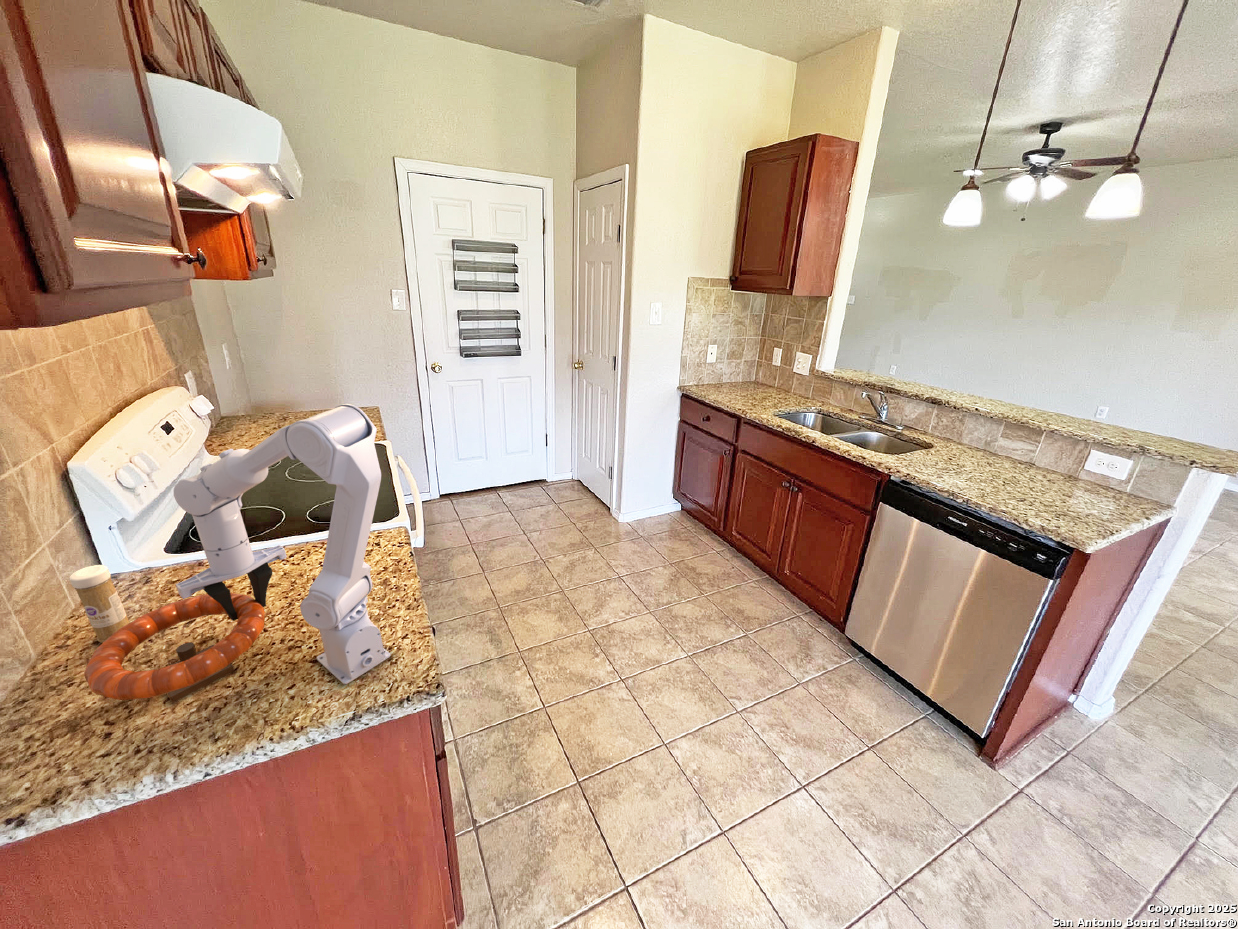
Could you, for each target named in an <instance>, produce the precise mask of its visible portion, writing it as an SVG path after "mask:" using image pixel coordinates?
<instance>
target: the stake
mask: <svg viewBox="0 0 1238 929" xmlns="http://www.w3.org/2000/svg"><path fill="white" fill-rule="evenodd" d="M214 645H215V644H211V645H210V646H208V647H205V648H204V649H201V650H199V651H197V649H196V645H195V643H194V642H193V641H191V642H189V641H188V642H185V643H183V644H180V645H179V646H177V647H176V649H175V652H176V654H177V657H178V659H179V660H178V661H176V662H174V663H172V664H171V665H173V664H176V663H180V662H183V661H186V660H188V659H190V658H192V657H194V656H196V655H198V654H200V653H202V652H204V651H206V650H208V649H210V648H211V647H213V646H214ZM234 672H235V668H234V666H233V664H232V663H230V664H229V665H228V666H227V667H225V668H223V669H222V670H220V671H218V672H216V673H214V674H212V675H210V676H208V677H206V678H204V679H203V680H201V681H199V682H197V683H195V684H193V685H190V686H187V687H184V688H181V689H178V690H175V691H172V692H169V693H166V694H165V695H166V696H167V698H168V699H169V700H170V702H171V703H173V704H174V703H175V702H177V701H180V700H181V699H183V698H186V697H187V696H190V695H191V694H194V693H195V692H197V691H199V690H201V689H202V688H204V687H206V686H208V685H210V684H212V683H214V682H216V681H219V679H221V678H224V677H225V676H227V675H229V674H231V673H234Z"/></svg>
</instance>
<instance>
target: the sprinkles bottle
mask: <svg viewBox="0 0 1238 929" xmlns="http://www.w3.org/2000/svg"><path fill="white" fill-rule="evenodd" d="M68 580H69V582H70V584H71V586H72V588H74V590H75V591H76V593H77V595H78V598H79V600H80V602H81V604H82V606H83V608H84V611H85V615H86V617H87V619H88V622H89V624H90V626H91V627H92V629H93V631H94V633H95V635H96V641H98V642H99V643H101V644H102V643H104V642H105V641H106V640H107V639H108V638H109V637H110V636H111V635H112V634H114V633H115V632H116V631H117V630H119V629H120V628H122V627H124V626H125V625H127V624H129V623H130V620H129V618H128V616H127V612H126V610H125V608H124V605H123V603H122V601H121V598H120V596H119V593H118V591H117V589H116V587H115V585H114V582H113V581H112V575H111V572H110V570H109V567H108V566H107V565H104V564H95V565H89V566H86V567H83V568H80V569H78V570H76V571H74V572H72V573H71V574H70V575H69V577H68Z"/></svg>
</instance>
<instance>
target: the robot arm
mask: <svg viewBox="0 0 1238 929" xmlns="http://www.w3.org/2000/svg"><path fill="white" fill-rule="evenodd" d="M377 431H378V429H377V427H376V426H375V424H374V422H372V421H371V419H370V418H369V416H368V415H367V414H366V412H365V411H364V410H362V409H361V408H360V407H358V406H357V405H354V404H352V403H351V404H350V403H343V404H339V405H337V406H335V407H334V408H332V409H329V410H326V411H323V412H321V413H318V414H315V415H312V416H310V417H307V418H304V419H300V420H295V421H294V422H293V423H291V424H289V425H286V426H283V427H281V428H279V429H278V430H276V431H275V432H274V433H272V434H271V435H269V436H268V437H267V438H265V439H264V440H262V441H261V442H260V443H258V444H257V445H256V446H254V447H253V448H252V449H248V448H237V449H234V448H229V449H226V450H224V451H222V452H220V453H218V457H219V458H220V459H218V460H217V461H215V462H213V463H207V464H204V465H202V466H201V467H200V472H199V473H198V474H195V475H193V476H191V477H188V478H182V479H179V480H178V482H177V483H176V484H175V486H174V487H173V496H174V500H175V501H176V502H175V503H177V505H178V506H179V507H180V508H181V509H182V510H183V511H185V513H187V514H190V515H191V517H192V519H193V522H194V525H195V528H196V531H197V533H198V537H199V539H200V543H201V546H202V549H203V551H204V554H205V557H206V561H207V563H208V566H209V567H208V568H206V569H204V570H202V571H200V572H198V573H196V574H194V575H192V576H191V577H189V578H187V579H185V580H183V581H180V582H177V583H175V587H176V590H177V593H178V595H179V596H180V598H181V599H182V600H184V599H188V598H191V597H192V595H193V594H195V593H197V592H199V591H204V592H205V594H208V595H209V596H210V597H212V598H213V599H214V600H216V601H217V602H218V603H220V604H221V605H222V607H223V608H224V609H225V611H226V613H227V614H228V615H227V616H228V618H229V619H230V620H231V621H233V622H235V621H238V618H237V613H236V611H235V609H234V606H233V604H232V600H231V594H230V592H231V590H230V589H229V588H228V587H227V586H226V584H225V581H230V580H233V579H237V578H239V577H240V578H241V577H243V576H245V575H247V577H248V580H249V582H250V585H251V589H252V593H253V598H254V599H255V600H256V601H257V602H258V603H259V604H260V605H262V606H263V608H265V607H267V591H268V588H269V584H270V581H271V578H272V577H273V569H272V567H271V566H269V564H270V563H273V562H276V561H278V560H279V561H282V560H285V559H287V558H288V556H287V552H286V549H285V548H284V547H283V546H282V545H281V544H279V545H275V546H272V547H269V548H265V549H261V550H257V551H253V549H252V546H251V543H250V540H249V537H248V532H247V530H246V525H245V523H244V519H243V516H242V513H241V509H242V507H243V502H242V496H243V495H244V493H246V492H248V491H249V490H250V489H252V488H255V487H256V486H258V485H259V484H261V483H262V482H264V481H265V480H266V479H267V477H268V475H269V467H272V466H273V465H275V464H277V463H279V462H280V461H282V460H283V459H285V458H287V457H289V458H290V460H293V461H295V460H298V461H299V462H301V463H302V464H303V465H304V466H306V467H307V468H308V469H309V470H311V471H312V472H313V473H314V474H316V476H318V477H319V478H321V479H322V480H323V481H325V483H327V484H328V485H335V487H336V488H335V493H334V500H333V504H332V510H331V517H330V523H329V527H328V528H329V529H328V534H327V541H326V545H325V546H326V547H325V553H324V557H323V564H322V569H321V571H320V572H319V573H318V575H317V576H316V578H315V579H314V581H313V582H312V583H311V585H310V587H309V589H308V594H307V596H306V597H305V598H303V600H302V601H301V602H300V606H299V610H300V613H301V616H302V618H303V619H304V621H305V622H306V623H307V624H308V625H310V626H311V627H313V628H314V629H318V631H319V634H320V635H319V636H320V638H321V643H322V647H323V651H324V652H322V653H321V654H319V655H317V656H316V661H317V662H318V663H320V664H321V665H322V666H323V667H324V668H325V669H326V670H327V671H328V672H329V673H331V675H333V676H334V677H335V678H336V679H337V680H338V681H340V682H341V683H342V684H343V685H348V684H350V683H351V682H353V681H354V680H356V679H357V678H359V677H361V676H362V675H364V674H365V673H367V672H368V671H370V670H372V669H374V668H375V667H376V666H378V665H379V664H382V663H383V662H384V661H386V660H388V659H389V658H391V652H389V651H388V650H387V649H386V648H384V643H383V639H382V633H381V630H380V629H379V628H378V626H377V625H375V624H374V623H373V622H372V620H371V619H370V617H369V612H368V607H367V604H368V602H369V600H368V595H369V594H370V593H372V592H371V591H372V590H373V586H374V585H373V581H372V580H373V579H372V577H371V570H372V566H371V565H370V564H368V563H367V562H365V557H366V552H367V547H368V542H369V538H370V533H371V528H372V525H373V524H372V523H373V520H374V515H375V510H376V505H377V500H378V497H379V493H380V492H379V491H380V487H381V482H382V470H381V468H380V467H381V466H380V463H379V458H378V453H377V449H376V444H375V441H376V440H375V439H376V437H377Z"/></svg>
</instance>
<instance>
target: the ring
mask: <svg viewBox="0 0 1238 929" xmlns="http://www.w3.org/2000/svg"><path fill="white" fill-rule="evenodd" d="M230 594H231V600H232V604H233V606H234V609H235V611H236V613H237V618H238V619H237V620H236V625H234V627H233V628H232V630H231V631H230V633H229V634H227V635H226V636H225V637H223V638H222V639H221V640H220V641H218V642H217V643H215V644H213V645H214V646H213V647H211V648H210V649H208V650H206V651H204V652H202V653H200V654H198V655H196V656H194V657H192V658H190V659H188V660H186V661H183V662H180V663H176V662H175V663H176V664H174V663H172V664H173V665H172V664H170V665H166V666H164V667H160V668H157V669H148V670H140V671H139V670H137V671H133V670H128V669H124V668H123V664H124V660H125V658H127V656H128V655H129V654H130V653H131V652H132V651H133V650H134V649H135V648H136V647H137V646H139V645H141V644H142V643H143V642H145V641H147V640H149V639H150V638H152V637H153V636H155V635H156V634H158V633H160V632H162V631H164V630H167V629H169V628H171V627H174V626H177V625H178V624H180V623H185V622H187V621H190V620H194V619H198V618H201V617H204V616H205V617H206V616H217V615H218V616H219V615H226V616H228V614H227V613H226V611H225V609H224V608H223V607H222V605H221V604H220V603H218V602H217V601H216V600H214V599H213V598H212V597H210V596H209V595H208V594H207V593H204V594H199V595H196V596H191V597H188V598H185V599H181V600H175V601H174V602H171V603H168V604H166V605H163V606H161V607H159V608H155V609H154V610H151V611H149V612H146V613H145V614H143V615H140V616H139V617H137V618H136V619H134V620H132V621H130V622H129V624H127V625H125V626H124V627H122V628H120V629H119V630H117V631H116V632H115V633H114V634H112V635H111V636H110V637H109V638H108V639H107V640H106V641H105V642H104V643H101V644H100V645H99V646H98V647H97V648H96V649H95V650H94V651H93V652H92V655H91V657H90V658H89V660H88V663H87V665H86V667H85V670H84V675H83V676H84V678H85V681H86V683H87V684H88V686H89V689H90V690H91V692H92V693H93V694H95V695H97V696H101V697H105V698H108V699H112V700H113V699H114V700H116V701H117V700H118V701H130V700H138V699H148V698H156V697H159V696H162V695H167V694H166V693H169V692H172V691H175V690H178V689H181V688H184V687H187V686H190V685H193V684H195V683H197V682H199V681H201V680H203V679H204V678H206V677H208V676H210V675H212V674H214V673H216V672H218V671H220V670H222V669H223V668H225V667H227V666H228V665H229V664H230V663H231V664H232V663H233V662H235V661H236V660H237V659H238V658H239V657H241V656H242V655H243V654H244V653H245V652H247V651H248V650H249V649H250V648H251V647H252V646H253V644H254V643H255V641H256V640H257V639H258V637H259V636H260V634H261V633H262V631H263V630H264V628H265V620H266V619H265V618H266V611H265V607H263V606H262V605H260V604H259V603H258V602H257V601H256V600H255V597H252V595H251V596H250V595H247V594H241V593H236V592H231V591H230Z"/></svg>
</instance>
